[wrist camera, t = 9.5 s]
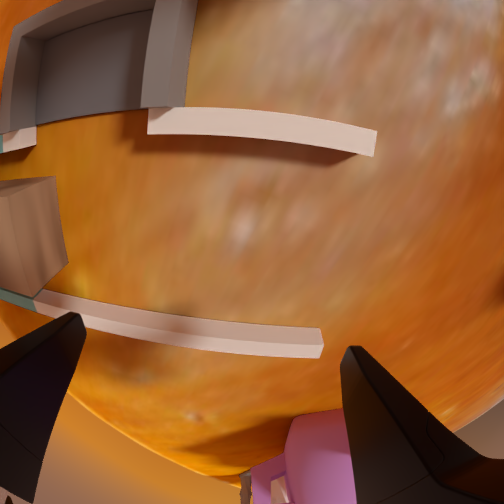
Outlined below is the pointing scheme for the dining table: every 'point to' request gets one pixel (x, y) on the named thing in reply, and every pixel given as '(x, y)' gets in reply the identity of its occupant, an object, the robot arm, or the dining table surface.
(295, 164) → the dining table surface
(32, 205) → the block
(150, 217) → the dining table surface
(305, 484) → the teakettle
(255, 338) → the walled track with bay
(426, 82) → the dining table surface
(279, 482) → the skyscraper
